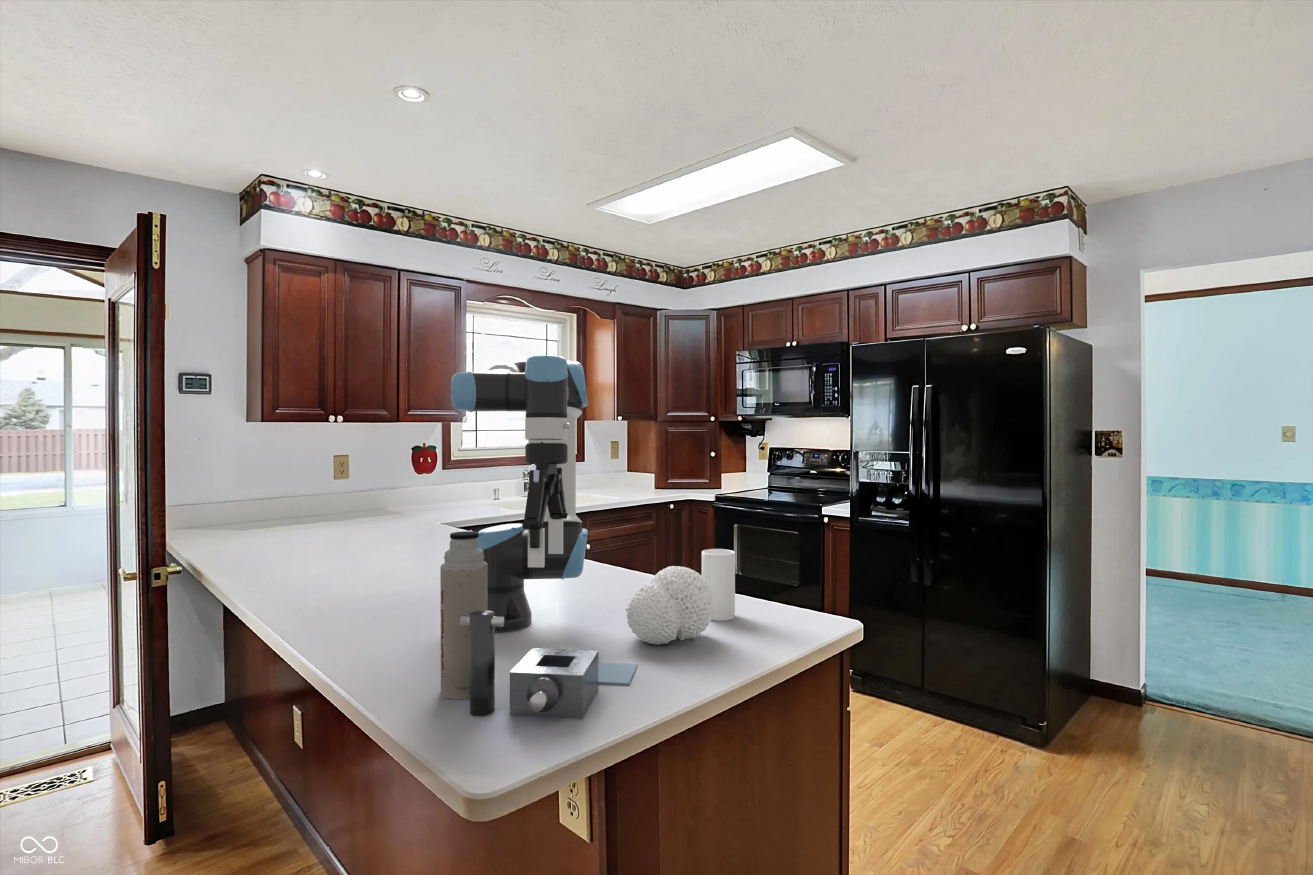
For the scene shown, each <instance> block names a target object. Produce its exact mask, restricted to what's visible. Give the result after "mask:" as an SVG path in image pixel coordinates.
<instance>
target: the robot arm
mask: <svg viewBox="0 0 1313 875" xmlns="http://www.w3.org/2000/svg"><path fill="white" fill-rule="evenodd" d="M450 398H451V404H452V407H453V408H454V409H455V410H456V411H457V412H458V411H459V412H470V413H472V412H523V413H524V412H525V418H524V424H525V425H524V439H525V440H526V441H528V443H526V445H525V458H524V459H525V463H526V464H527V465H535V469H529V472H528V475H529V476H528V481H529V482H528V489H527V496H526V503H525V511H524V516H523V517H524V519H523V523H519V522H518V523H506V524H499V525H494V526H490V527H486V528H483V529H480V530H479V531H477V532H478V533H479V537H478V538H477V540H478V548H480V549H481V550H483V556H484V558H483V561H484V562H486V563H487V578H488V611H493V612H495V616H496V617H504V626H503V627H495V634H497V633H506V632H507V633H508V632H513V631H518V630H521V629H524V628H526V627H528V626H530V625H531V624H532V621H533V620H532V617H533V616H532V609H531V606H530V605H529V602H528V601H529V600H528V598H527V595H526V592H525V580H551V579H552V580H557V579H561V580H565V579H575V578H579V577H580V576H581V575H582V574H583V572H584V564H585V558H586V556H585V554H586V549H587V542H588V532H589V530H588V529H586V528H583V521H582V520H581V519H580V518H579V516H577V514H576V513H577V511H576V509H577V506H576V504H577V501H576V500H577V499H576V498H577V496H576V495H577V494H576V493H577V491H576V490H577V488H576V487H577V486H576V484H577V483H576V479H577V478H576V476H577V472H576V470H577V468H576V466H577V465H576V464H577V463H576V460H577V459H576V458H577V456H576V455H577V452H576V451H577V446H576V445H577V443H576V442H577V435H576V434H577V431H576V430H577V429H576V428H577V426H576V425H577V419H578V418H580V416H581V415H582V414H583V408H586V407H588V394H587V385H586V377H585V371H584V367H583V365H582V363H580V362H579V361H575V360H574V361H573V360H567V359H566V358H565V357H563V356H559V355H549V354H544V355H543V354H542V355H538V354H537V355H532V356H529V357H527V359H526V360H525V359H524V360H523V359H520V360H514V361H508V362H505V363H500V364H495V365H493V366H491V367H490V368H488V370H486V371H482V372H480V371H479V372H477V371H476V372H475V371H473V372H472V371H466V372H456V373H455V374H453V376H452V377H451V382H450Z"/></svg>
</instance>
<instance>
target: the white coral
mask: <svg viewBox="0 0 1313 875" xmlns="http://www.w3.org/2000/svg"><path fill="white" fill-rule="evenodd" d="M625 611H626V613H627V614H626V619H627V622H626V623H627V624H628V627H629V628H630V629H631V631H632V633H633V634H634V635H635V636H636V637H637V638H638V639H640V640H641V641H643V643H645V642H646V643H647V644H649V645H650V644H652V645H656V646H657V645H658V646H661V644H662V645H665V644H669V643H670V642H672V641H675V640H676V639H677V638H678V639H679V640H680V641H682V642H684V641H685V640H688V639H693V638H694V639H696V638H697V637H699V636H700V635H702V633H703V632H704V631H706V629H707V627H708V626H709V625H710V622H711V621H712V620H711V619H712V617H713V612H714V597H713V594H712V590H711V588H710V586H709V584H708V583H707V581H706V580H705V579H704V578H703V577H702V574H700V572H697V571H696V570H694V569H691V568H690V567H686V566H679V565H678V566H677V565H672V566H671V565H670V566H667V567H666V568H663V569H662V570H659V572H657V573H656V574H655V575H654V577H653V578H652V579H651V581H650V585H647V584H644V585H643V586H641V587H640V588H639V589H637V591H636V592H635V594H633V595H632V597H631V600H630V603H629V604H627V606H626V607H625Z"/></svg>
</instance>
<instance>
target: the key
mask: <svg viewBox="0 0 1313 875" xmlns="http://www.w3.org/2000/svg"><path fill="white" fill-rule="evenodd" d="M460 625H465V626H469V664H470V698H469V714H470V716H474V717H486V716H490V715H491V714H494V713H495V710H496V694H495V693H496V689H495V688H496V685H495V684H496V683H495V682H496V680H495V679H496V665H495V663H496V662H495V661H496V660H495V659H496V656H495V655H496V652H495V651H496V648H495V647H496V644H495V643H496V642H495V641H496V633H495V627H503V626H504V617H496V616H495V612H493V611H487V610H483V611H475V612H472V613H470V614H469V615H462V616H461V617H460Z"/></svg>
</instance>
